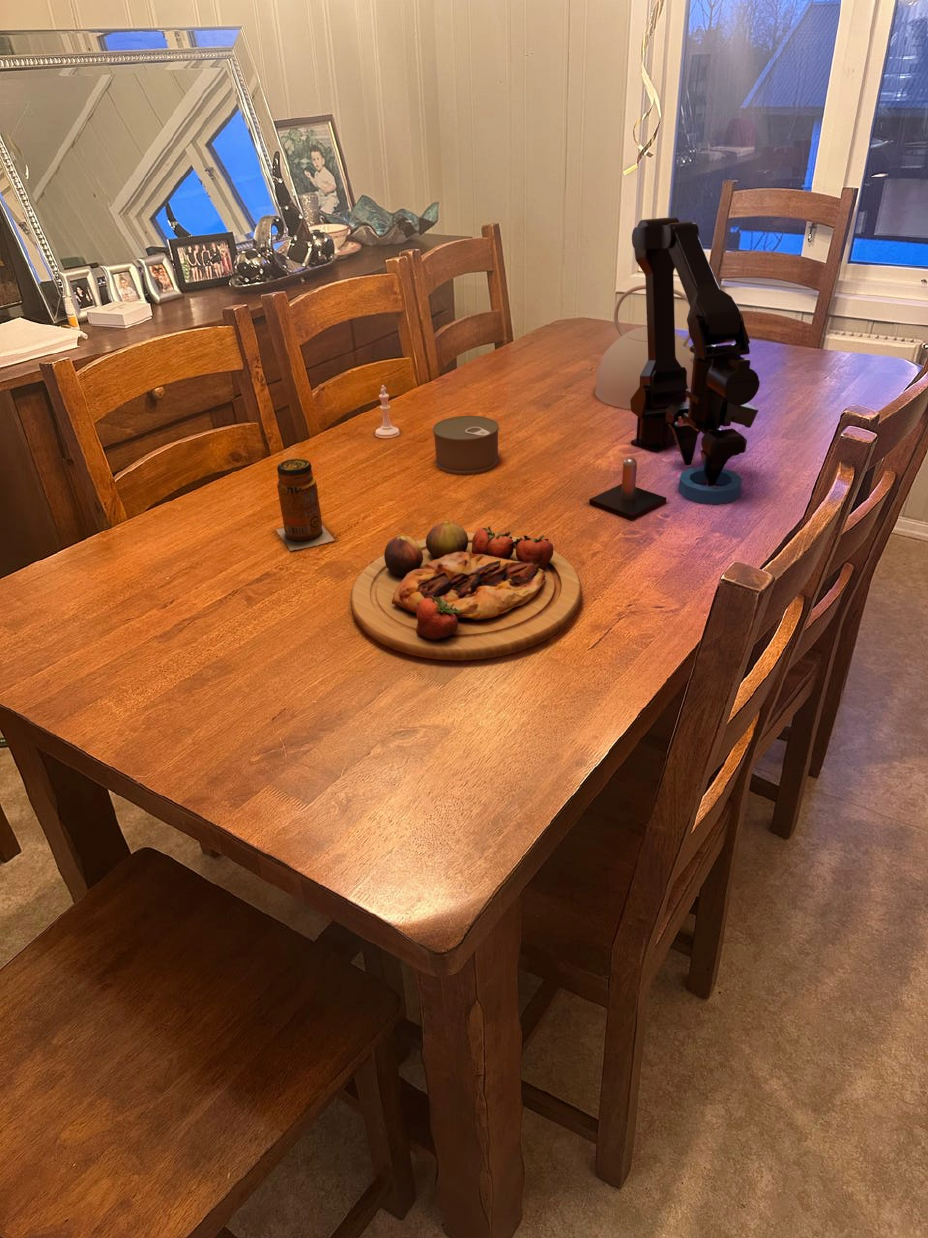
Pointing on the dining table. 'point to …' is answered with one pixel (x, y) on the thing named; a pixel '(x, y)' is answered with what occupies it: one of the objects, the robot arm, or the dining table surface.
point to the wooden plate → (465, 594)
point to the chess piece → (386, 418)
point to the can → (466, 444)
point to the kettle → (633, 361)
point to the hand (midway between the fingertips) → (699, 475)
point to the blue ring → (709, 494)
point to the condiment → (300, 506)
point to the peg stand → (628, 496)
